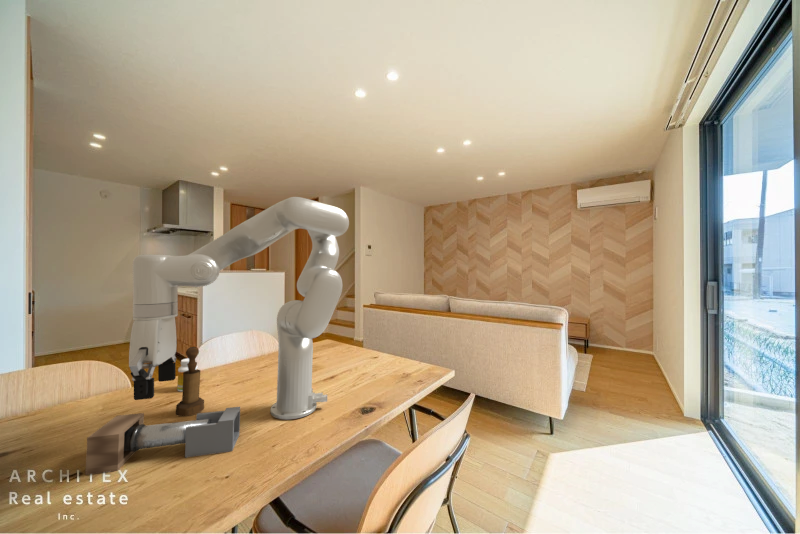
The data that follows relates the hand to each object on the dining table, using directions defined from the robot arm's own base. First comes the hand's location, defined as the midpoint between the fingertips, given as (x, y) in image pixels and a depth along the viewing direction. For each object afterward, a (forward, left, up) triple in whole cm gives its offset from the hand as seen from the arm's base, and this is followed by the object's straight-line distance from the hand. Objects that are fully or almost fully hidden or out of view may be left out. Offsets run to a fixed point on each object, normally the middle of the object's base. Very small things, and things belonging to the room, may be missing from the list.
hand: (156, 388), depth 64 cm
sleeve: (-12, 0, -14) cm, 18 cm away
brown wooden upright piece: (0, -20, -14) cm, 24 cm away
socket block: (+6, 0, -14) cm, 15 cm away
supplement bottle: (+7, -38, -14) cm, 41 cm away
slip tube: (-2, 0, -13) cm, 13 cm away
